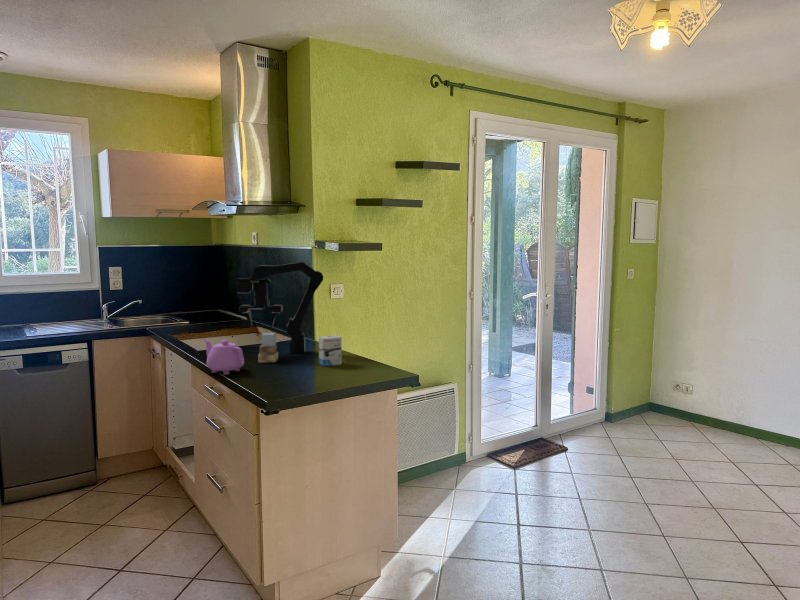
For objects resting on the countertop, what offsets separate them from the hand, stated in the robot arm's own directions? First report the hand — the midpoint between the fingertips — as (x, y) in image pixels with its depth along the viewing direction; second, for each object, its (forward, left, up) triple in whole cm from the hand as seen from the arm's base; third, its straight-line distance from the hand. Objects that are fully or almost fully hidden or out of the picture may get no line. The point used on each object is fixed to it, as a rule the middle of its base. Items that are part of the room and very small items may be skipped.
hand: (261, 327), depth 254 cm
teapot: (+8, +34, -12) cm, 37 cm away
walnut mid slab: (-6, +15, -9) cm, 19 cm away
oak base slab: (-6, +15, -12) cm, 20 cm away
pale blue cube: (-6, +15, -5) cm, 17 cm away
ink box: (-33, +23, -12) cm, 42 cm away
